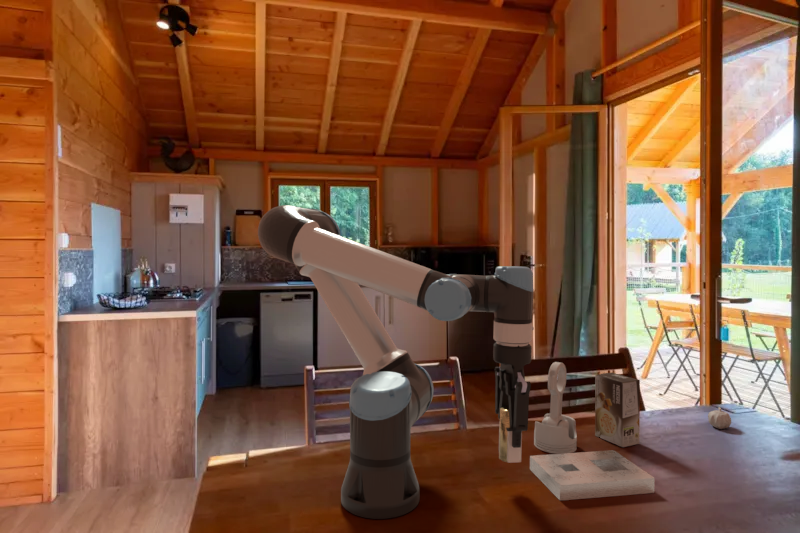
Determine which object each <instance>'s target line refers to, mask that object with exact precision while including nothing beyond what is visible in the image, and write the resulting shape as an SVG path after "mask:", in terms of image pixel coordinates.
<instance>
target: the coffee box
mask: <svg viewBox="0 0 800 533" xmlns="http://www.w3.org/2000/svg"><path fill="white" fill-rule="evenodd" d="M594 378H595V380H594V383H595V384H594V388H595V393H594V394H595V395H594V396H595V399H594V400H595V401H594V404H595V406H594V408H595V410H594V411H595V412H594V418H595V419H594V420H595V421H594V424H595V426H594V429H595V430H594V433H595V434H594V436H595V437H597V438H599V437H600V439H602V440H604V441H606V442H609V443H611V444H614V445H616V446H617V447H618V446H619V447H620V448H626V447H627V448H628V447H631V446H634V445H639V444H640V418H641V417H640V414H641V413H640V403H641V402H640V397H641V396H640V393H641V392H640V391H641V389H640V388H641V387H640V385H641V384H640V382H641V381H640V379H637V378H633V377H630V376H625V375H623V374H618V373H615V372H606V373H605V372H604V373H599V374H595V377H594Z"/></svg>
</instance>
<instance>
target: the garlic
mask: <svg viewBox="0 0 800 533" xmlns="http://www.w3.org/2000/svg"><path fill="white" fill-rule="evenodd" d="M707 419H708V423H709V424H710V425H711V426H712V427H714V428H716V429H719V430H723V429H727V428H729V427H730V426H731V424H732V417H731V416H730V414H729V413H728V412H726V411H723V410H722V408H721V407H720V406H719V407H718V409H715V410H711V411H709V412H708V415H707Z"/></svg>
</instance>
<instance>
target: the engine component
mask: <svg viewBox="0 0 800 533" xmlns="http://www.w3.org/2000/svg"><path fill="white" fill-rule="evenodd" d="M566 384H567V367H566V365H565V364H564V363H563V362H559V361H554V362H552V364H551V365H550V367H549V369H548V375H547V389H548V391H549V393H550V408H549V413H548V412H547V413H545V414H544V416H543V419H542V421H541V422H540V421H537V420H535V422H534V430H533V446H535V448H537V449H538V450H540V451H543V452H545V453H549V454H564V453H575V452H576V451H577V448H578V447H577V445H578V443H577V442H578V436H577V427H576V426H577V425H576V423H577V422H576V420H575V418H573V417H571V416H569V415H565V414H562V413H563V411H562V410H563V394H564V392H565V388H566Z"/></svg>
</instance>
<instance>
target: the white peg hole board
mask: <svg viewBox="0 0 800 533" xmlns="http://www.w3.org/2000/svg"><path fill="white" fill-rule="evenodd" d="M529 470H530V471H531V473H533V474H534V475H535V477H537V478H538V480H539V481H540V482H542V484H544V486H545V487H546V488H547V489H548V490H549V492H551V494H553V495H554V496H555V497H556V498H557V499H558V500H559V501H569V500H571V501H572V500H581V499H582V500H583V499H594V498H595V499H596V498H606V497H619V496H630V495H631V496H632V495H643V494H645V495H646V494H654V493H655V477H654V476H653V475H651V474H649V473H648V472H647V471H645V470H644V469H642V468H641V467H640V466H638V465H637V464H635V463H634V462H632V461H630V460H629V459H627V458H626V457H625V456H623V455H622V454H620V453H619V452H618V451H616V450H614V449H610V450H597V451H581V452H572V453H564V454H554V453H549V454H537V455H529Z"/></svg>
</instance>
